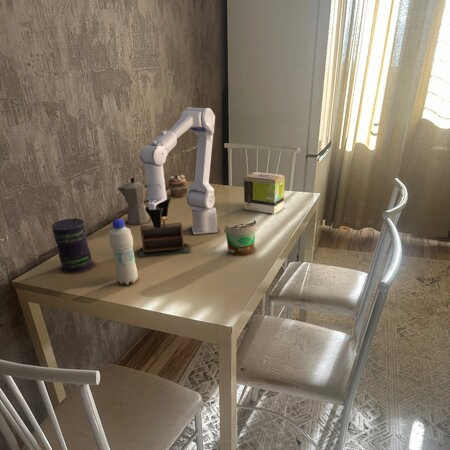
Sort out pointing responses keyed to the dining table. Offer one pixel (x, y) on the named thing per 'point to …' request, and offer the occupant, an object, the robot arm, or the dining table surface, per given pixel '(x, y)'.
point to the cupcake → (178, 185)
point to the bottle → (123, 252)
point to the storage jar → (72, 245)
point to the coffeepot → (135, 202)
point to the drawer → (162, 237)
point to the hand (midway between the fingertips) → (160, 223)
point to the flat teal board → (163, 252)
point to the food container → (241, 238)
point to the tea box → (264, 192)
